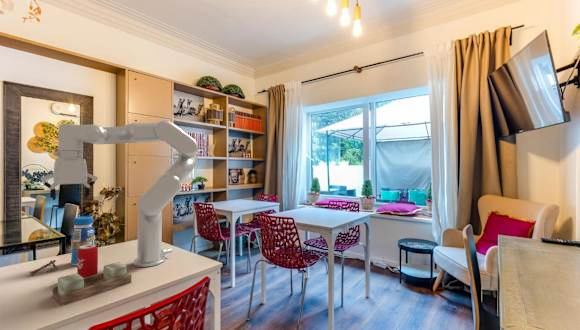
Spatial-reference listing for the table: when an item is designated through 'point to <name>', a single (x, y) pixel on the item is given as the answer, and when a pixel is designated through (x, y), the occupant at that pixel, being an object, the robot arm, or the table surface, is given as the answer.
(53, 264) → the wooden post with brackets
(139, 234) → the robot arm
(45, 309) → the table surface
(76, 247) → the beverage bottle
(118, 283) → the rail
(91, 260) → the beverage can
